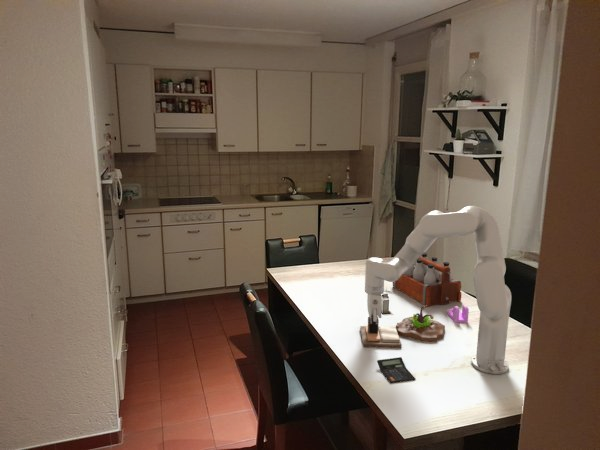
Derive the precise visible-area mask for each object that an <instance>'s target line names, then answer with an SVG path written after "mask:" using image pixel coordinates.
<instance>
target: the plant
mask: <svg viewBox="0 0 600 450" xmlns="http://www.w3.org/2000/svg"><path fill="white" fill-rule="evenodd" d="M424 309H426V306H424V305H423V304H422V305H421V307H420V309H419V310H420V311H419V313H416V314H415V313H413V315H412V316H409V317H405V318H403V319H402V320H401V322H397V323H396V325H395V327H396V329H397V332H398V335H399V337H402V338H406V339H407V338H408V339H412V340H416V341H419V342H422V343H437V342H438V341H439V340H442V339H444V335H445V331H446V325H444V324H443V323H441V322H439V321H436V320H434V316H433V315H432V314H423V310H424Z"/></svg>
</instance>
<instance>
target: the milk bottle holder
mask: <svg viewBox="0 0 600 450" xmlns="http://www.w3.org/2000/svg"><path fill="white" fill-rule="evenodd" d="M442 263H443V265H441V264H438V257H435V256H433V257H431V260H429V259H428V253H426V252H425V253H424V254H423V255H421V256H420V257H419V258H418V259H417V260H416V261H415V265H416V266H414V264H413V265H412V266H411V267H410V268H409V269H408V270H407V271H406V273H405V274H403V275H402V276H401V277H400V278H399V279H398V280H397V281H395V282H392V287H393V288H394V289H395V290H399V291H400V292H401V293H403V294H405V295H407V296H408V297H410V298H411V299H413V300H415V301H417V302H419V303H421V304H422V305H424V306H425V307H431V306H434V305H440V306H442V305H448V304H449V305H450V303H453V302H461V300H462V291H461V289H462V281H461V280H459V279H454V278H452V274H451V267H450V262H447V261H444V262H442Z"/></svg>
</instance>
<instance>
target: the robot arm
mask: <svg viewBox="0 0 600 450" xmlns="http://www.w3.org/2000/svg"><path fill="white" fill-rule="evenodd" d="M471 234H473V235H474V245H475V249H476V258H477V260H476V264H475V266H474V268H473V273H472V275H473V282H474V283H473V284H474V290H475V298H476V304H477V308H478V309H479V312H480V313H479V322H478V334H477V344H476V345H477V346H476V355H474V356H472V358H471V361H470V362H471V365H472V367H474V368H475V369H476V370H478V371H481V372H483V373H486V374H492V375H500V374H501V375H502V374H505V373H507V372H508V370H509V363H508V362H507V361H506V360H505V358H506V349H507V340H508V339H507V338H508V330H509V321H510V314H511V313H510V311H511V306H512V292H511V289H510V288H509V286H507V284H505V274H506V270H507V266H506V261H505V256H504V250H503V249H504V248H503V243H502V237H501V233H500V228H499V225H498V222H497V221H496V219H495V217H494V216H493V215H492V213H490V212H489V211H488V210H486V209H485V208H482V207H480V206H475V205H468V206H465V207H463V208H461V209H460V210H458V211H455V212H446V213H444V212H442V211H441V210H431V211H429V212H428V213H426V214H425V215H423V216H422V217H421V219H420V220H419V222H418V224H417V226H416V227H415V228H414V229H413V230H412V231H411V233H410V234H409V235H408V236H407V237H406V239H405V243H404V245H403V246H402V247H401V249H400V250H399V251H398V252H397V253H396V254H395V256H394V257H393V258H392V259H390V260H389V261H387V262H385V260H384V259H383V258H380V257H375V256H374V257H368V258H367V259H366V261H365V268H364V269H365V270H364V271H365V272H364V273H365V275H364V277H365V278H364V292H365V294H367V300H366V301H367V313H368V317H370V327H369V332H370V333H377V329H378V327H379V323H377V318H378V319H381V318H382V295H383V294H384V292H385V291H384V290H385V289H384V287H385V281H386V282H390V283H393V282H395V281H397V280H398V279H399V278H400V277H401V276H402V275H403V274H405V273H406V271H407V270H408V269H409V268H410V267H411V266H412V265H414V264H416V262H417V261H416V260H417V259H418V258H419V257H421V256H422V255H423V254H424V253H426V252H427V250H428V249H430V247H431V246H432V245H433V244H434V243H435V242H436V240H437V239H439V238H440V239H441V238H442V239H443V238H445V239H446V238H452V237H453V238H455V237H456V238H457V237H466V236H469V235H471ZM372 318H373V319H372Z"/></svg>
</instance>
